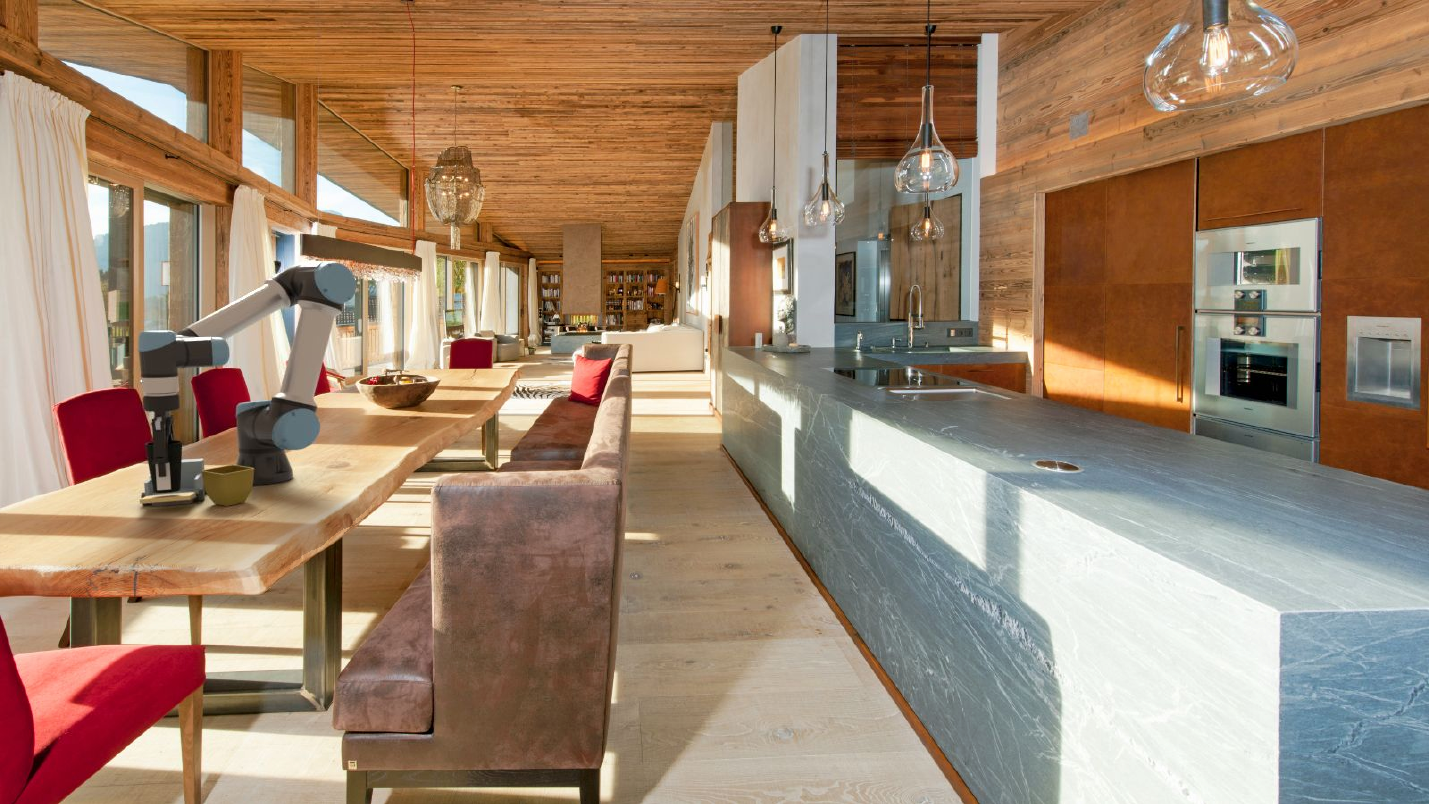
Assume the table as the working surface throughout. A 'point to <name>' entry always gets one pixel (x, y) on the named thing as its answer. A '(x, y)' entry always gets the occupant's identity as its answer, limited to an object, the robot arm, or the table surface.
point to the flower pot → (228, 484)
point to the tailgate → (168, 497)
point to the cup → (174, 464)
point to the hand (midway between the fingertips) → (167, 485)
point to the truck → (182, 483)
